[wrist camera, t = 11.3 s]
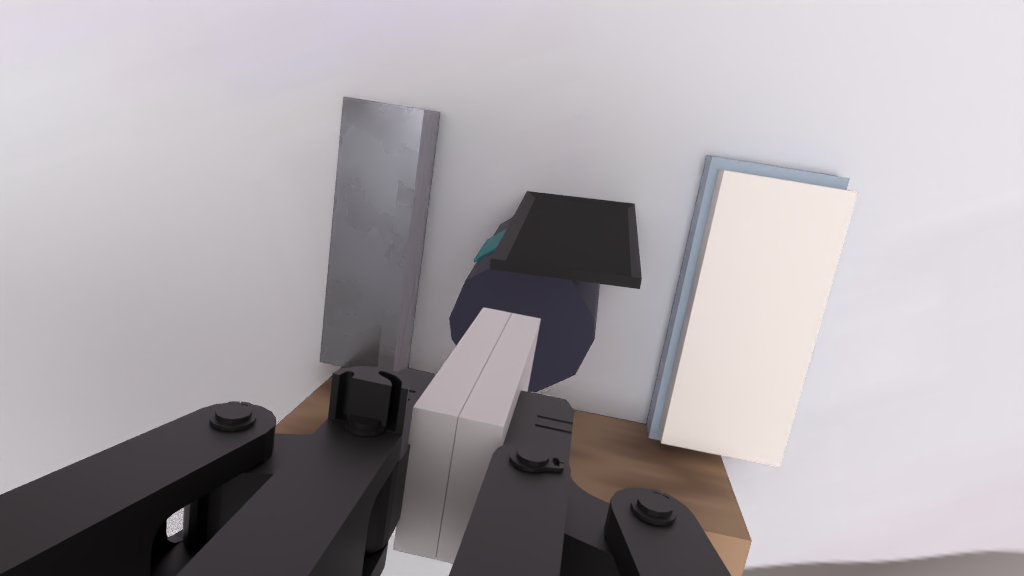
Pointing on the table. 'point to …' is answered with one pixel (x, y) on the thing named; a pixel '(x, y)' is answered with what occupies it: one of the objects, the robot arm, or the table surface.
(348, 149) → the bookend
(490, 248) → the speaker
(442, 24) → the table surface
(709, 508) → the shelf wall
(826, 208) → the sharpening stone
